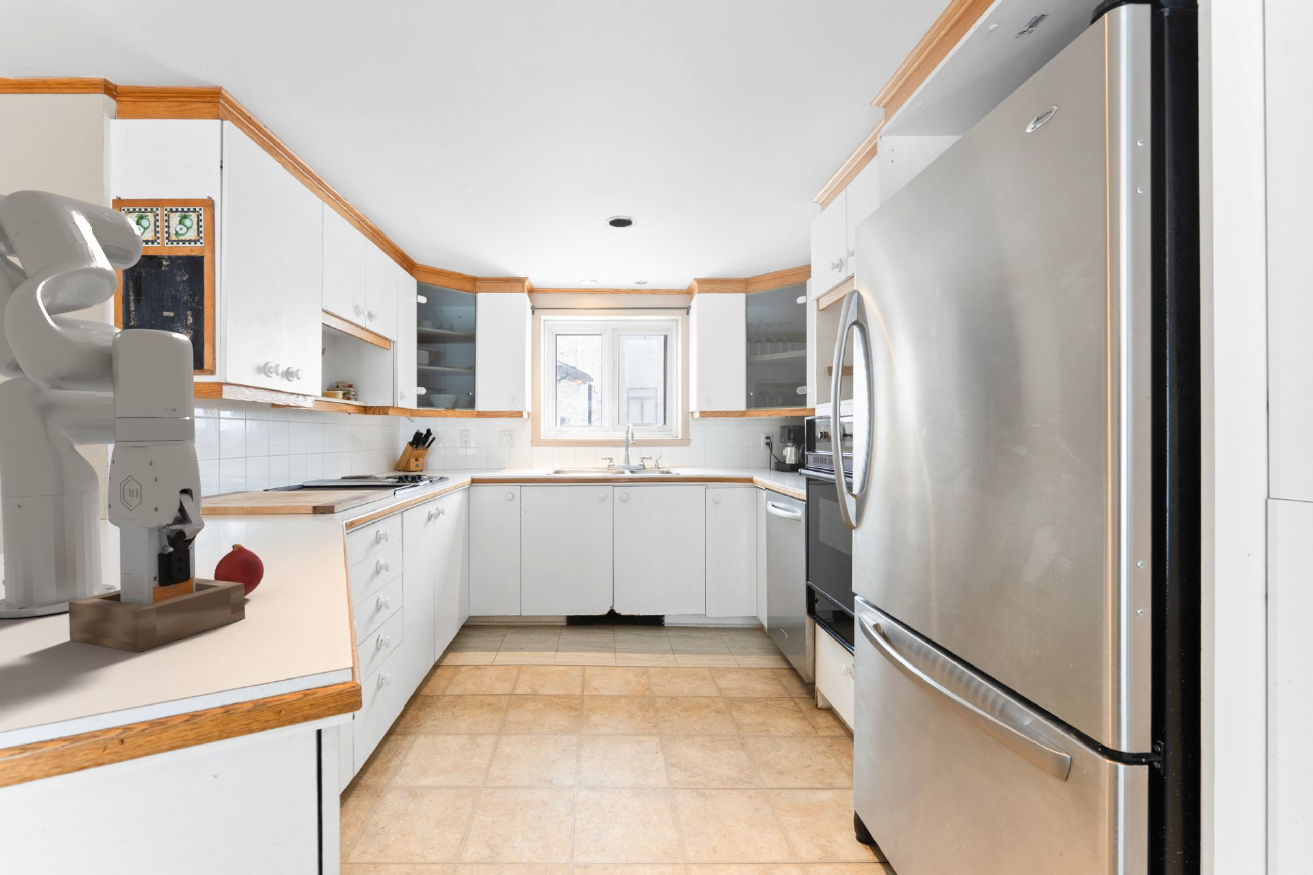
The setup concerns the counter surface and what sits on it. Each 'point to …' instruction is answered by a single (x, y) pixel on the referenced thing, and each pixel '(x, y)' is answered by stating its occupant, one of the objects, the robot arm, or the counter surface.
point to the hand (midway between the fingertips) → (159, 580)
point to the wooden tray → (155, 616)
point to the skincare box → (146, 566)
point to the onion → (240, 568)
